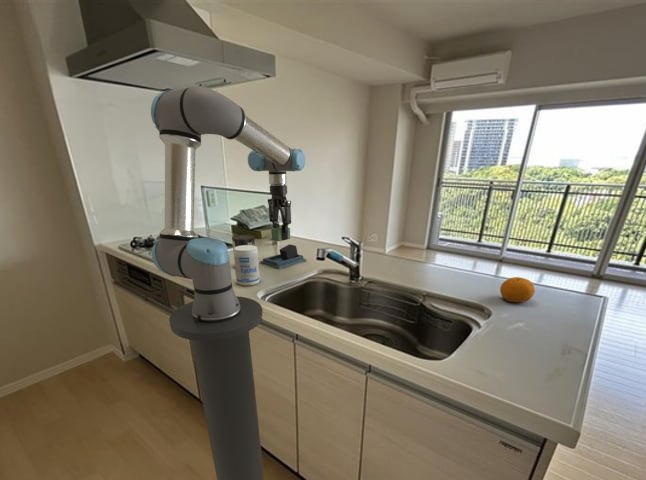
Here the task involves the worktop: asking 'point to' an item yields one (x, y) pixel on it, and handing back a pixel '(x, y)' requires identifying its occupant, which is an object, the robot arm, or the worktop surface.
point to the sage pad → (278, 234)
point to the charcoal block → (288, 252)
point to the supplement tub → (246, 265)
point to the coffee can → (242, 240)
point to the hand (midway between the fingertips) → (281, 238)
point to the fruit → (517, 289)
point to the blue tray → (282, 261)
